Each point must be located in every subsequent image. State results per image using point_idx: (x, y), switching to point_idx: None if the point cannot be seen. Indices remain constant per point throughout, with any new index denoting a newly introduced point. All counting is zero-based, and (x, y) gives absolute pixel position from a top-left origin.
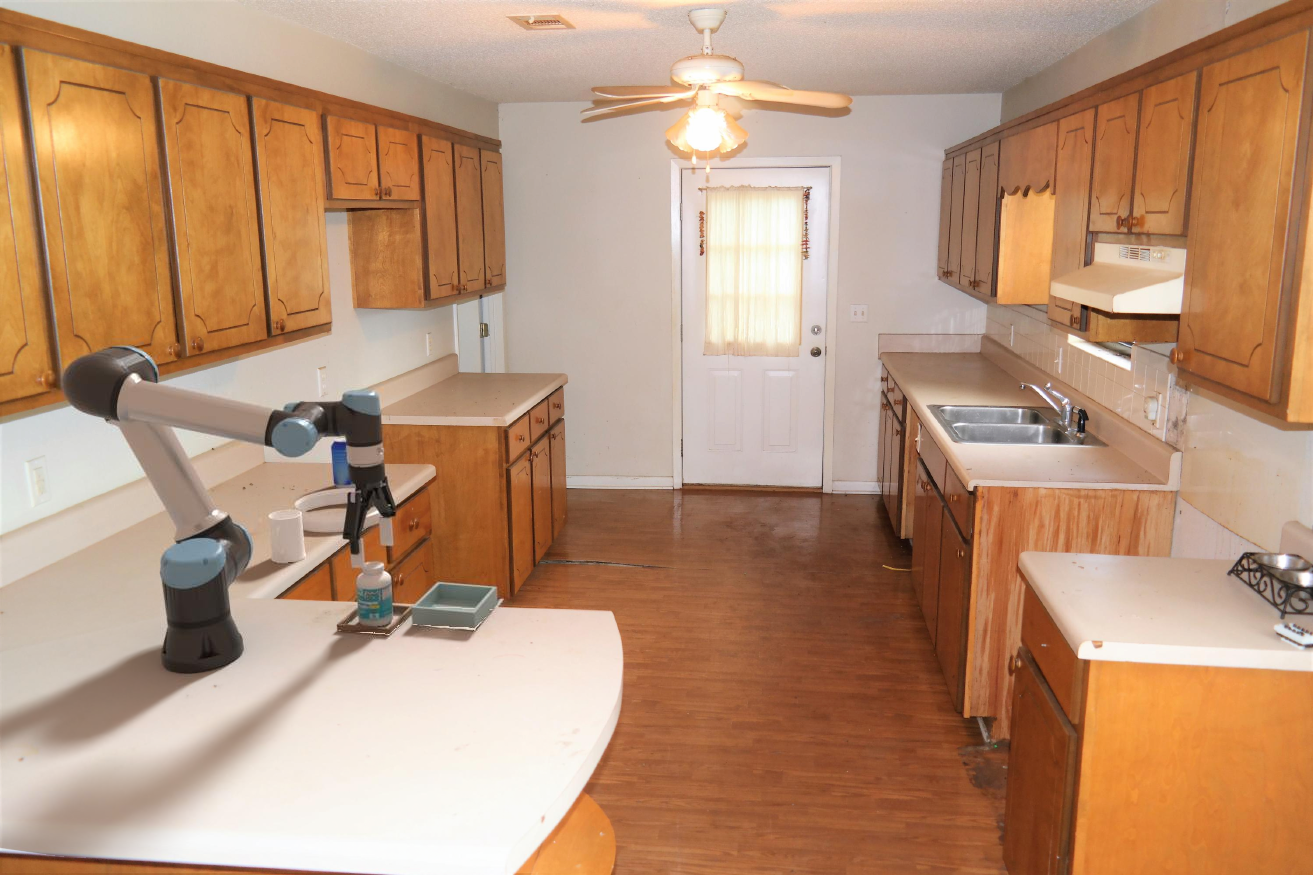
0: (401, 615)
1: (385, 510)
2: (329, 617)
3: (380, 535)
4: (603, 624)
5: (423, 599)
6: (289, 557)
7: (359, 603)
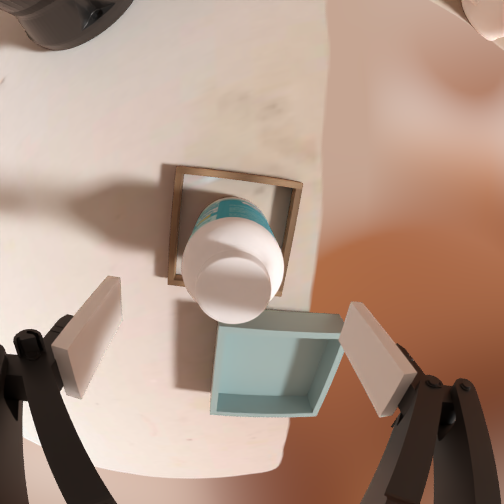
0: None
1: (389, 444)
2: (246, 122)
3: (366, 323)
4: (246, 473)
5: (262, 335)
6: (472, 14)
7: (199, 220)
